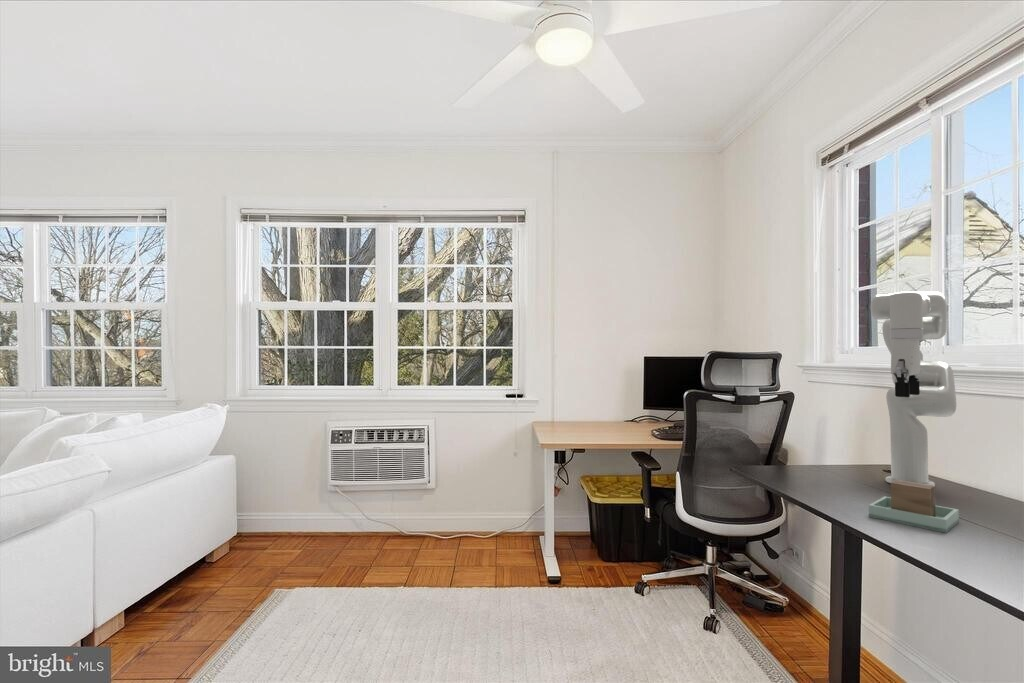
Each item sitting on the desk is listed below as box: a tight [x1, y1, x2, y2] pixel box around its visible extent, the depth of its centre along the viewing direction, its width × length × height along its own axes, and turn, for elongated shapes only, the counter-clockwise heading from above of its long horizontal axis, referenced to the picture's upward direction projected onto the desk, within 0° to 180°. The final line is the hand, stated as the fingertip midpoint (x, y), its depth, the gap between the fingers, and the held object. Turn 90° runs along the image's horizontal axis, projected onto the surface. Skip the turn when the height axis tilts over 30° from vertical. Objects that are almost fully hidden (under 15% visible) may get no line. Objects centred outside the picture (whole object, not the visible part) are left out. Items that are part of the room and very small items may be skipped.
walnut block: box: [890, 480, 936, 517], centre depth 132 cm, size 5×8×8 cm, turn 40°
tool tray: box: [868, 495, 960, 534], centre depth 132 cm, size 13×16×3 cm
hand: (907, 395), depth 147 cm, fingers open, 9 cm apart
